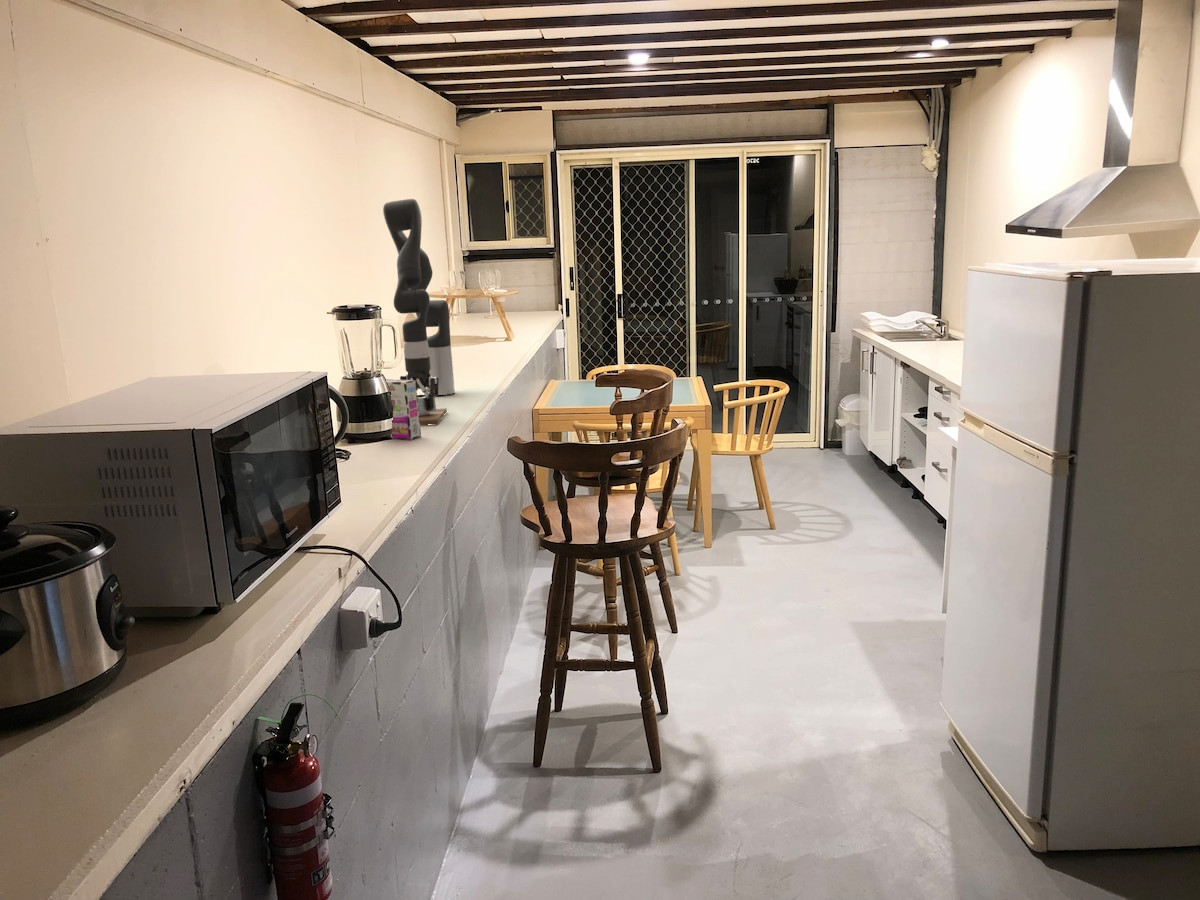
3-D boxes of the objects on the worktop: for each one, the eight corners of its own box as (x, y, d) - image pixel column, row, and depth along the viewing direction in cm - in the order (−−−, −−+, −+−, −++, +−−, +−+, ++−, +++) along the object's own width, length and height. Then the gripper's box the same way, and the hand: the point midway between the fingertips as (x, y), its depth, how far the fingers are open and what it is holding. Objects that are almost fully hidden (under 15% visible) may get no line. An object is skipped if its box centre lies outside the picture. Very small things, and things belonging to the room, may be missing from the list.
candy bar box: (422, 436, 256) (416, 379, 252) (410, 440, 251) (405, 382, 247) (391, 434, 261) (385, 378, 257) (380, 438, 257) (373, 381, 253)
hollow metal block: (408, 413, 278) (406, 397, 276) (421, 409, 283) (420, 393, 281) (422, 414, 275) (421, 398, 273) (436, 410, 279) (434, 394, 278)
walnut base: (409, 414, 288) (409, 410, 287) (446, 412, 288) (446, 408, 287) (397, 426, 270) (397, 421, 270) (437, 424, 270) (437, 420, 270)
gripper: (390, 356, 275) (396, 410, 279) (426, 358, 268) (431, 413, 272) (408, 353, 281) (413, 405, 285) (443, 354, 274) (447, 408, 278)
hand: (422, 409), depth 278 cm, fingers closed on hollow metal block, 6 cm apart
